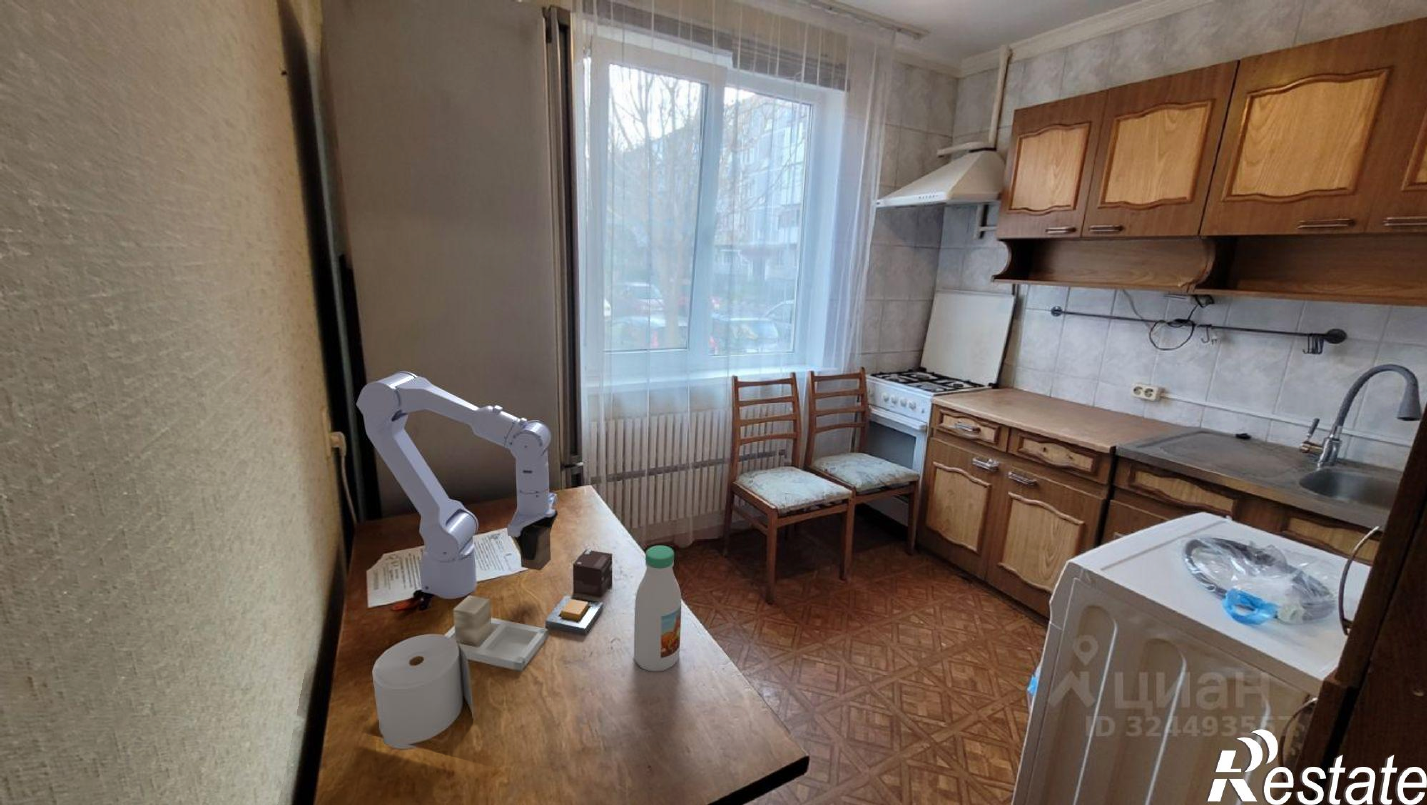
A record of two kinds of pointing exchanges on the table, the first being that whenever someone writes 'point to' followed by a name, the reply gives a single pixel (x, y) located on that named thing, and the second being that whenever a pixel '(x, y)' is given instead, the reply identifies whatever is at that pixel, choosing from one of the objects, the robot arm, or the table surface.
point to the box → (592, 573)
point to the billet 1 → (472, 621)
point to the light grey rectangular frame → (506, 644)
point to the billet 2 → (539, 551)
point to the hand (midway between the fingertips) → (535, 552)
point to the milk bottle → (657, 612)
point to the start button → (574, 610)
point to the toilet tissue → (420, 688)
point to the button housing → (572, 625)
